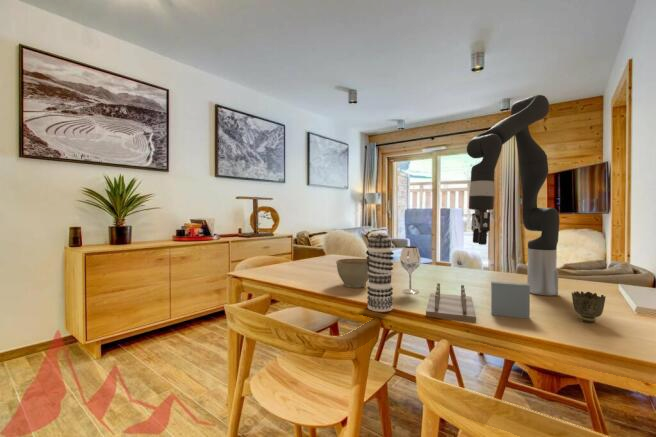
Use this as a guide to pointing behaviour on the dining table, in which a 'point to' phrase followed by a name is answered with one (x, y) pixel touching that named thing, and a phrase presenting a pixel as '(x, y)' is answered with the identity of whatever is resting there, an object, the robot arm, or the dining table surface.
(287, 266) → the dining table surface
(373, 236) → the decorative candle
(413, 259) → the wineglass
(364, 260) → the planter bowl
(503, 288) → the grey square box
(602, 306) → the cup
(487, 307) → the dining table surface
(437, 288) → the dish rack
